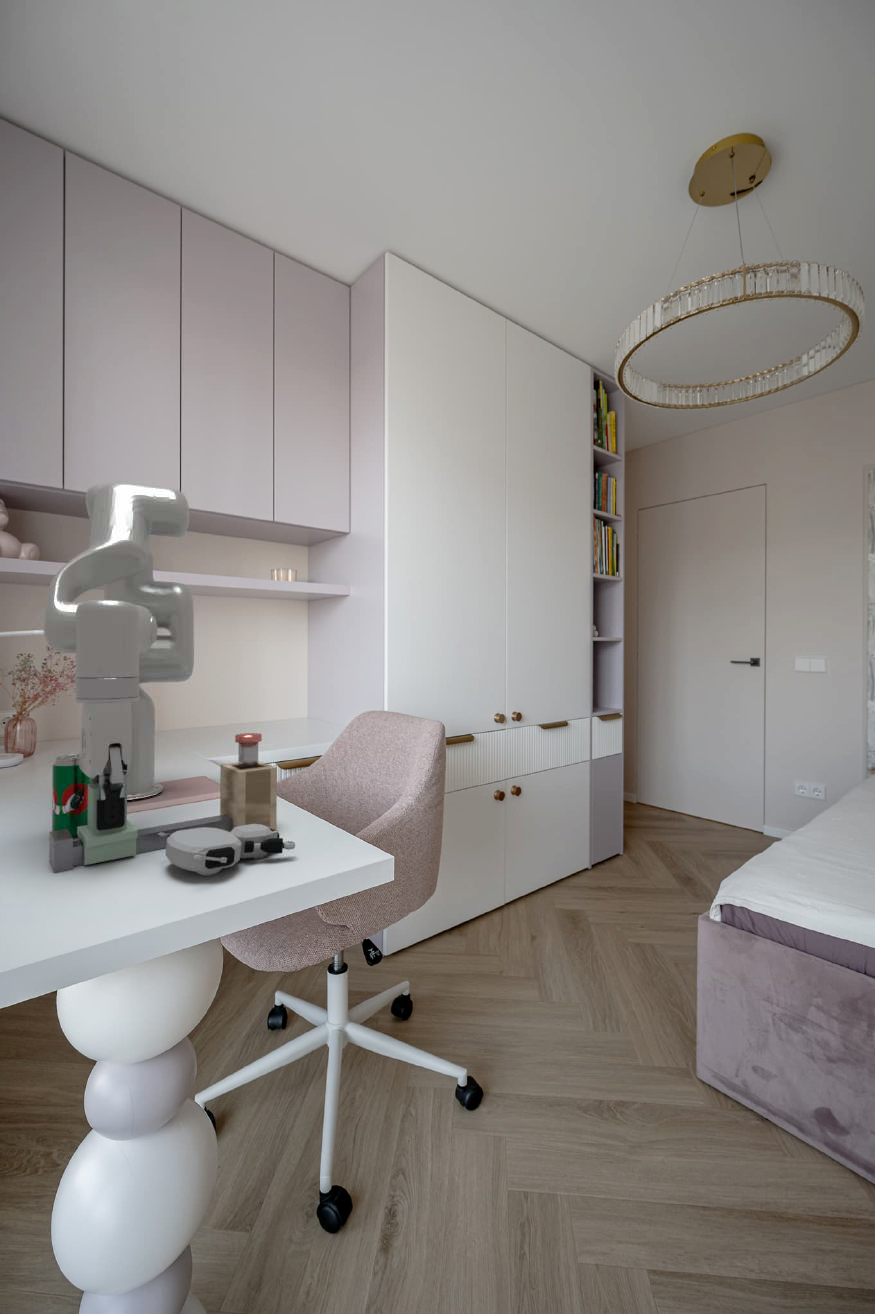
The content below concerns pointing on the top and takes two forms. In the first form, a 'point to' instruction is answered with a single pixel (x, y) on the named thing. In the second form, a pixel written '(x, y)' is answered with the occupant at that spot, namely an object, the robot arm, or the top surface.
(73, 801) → the soda can
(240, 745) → the plunger
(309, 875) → the top surface
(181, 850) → the robot toy
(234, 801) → the open wooden box
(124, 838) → the carriage
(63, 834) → the rail
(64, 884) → the top surface
